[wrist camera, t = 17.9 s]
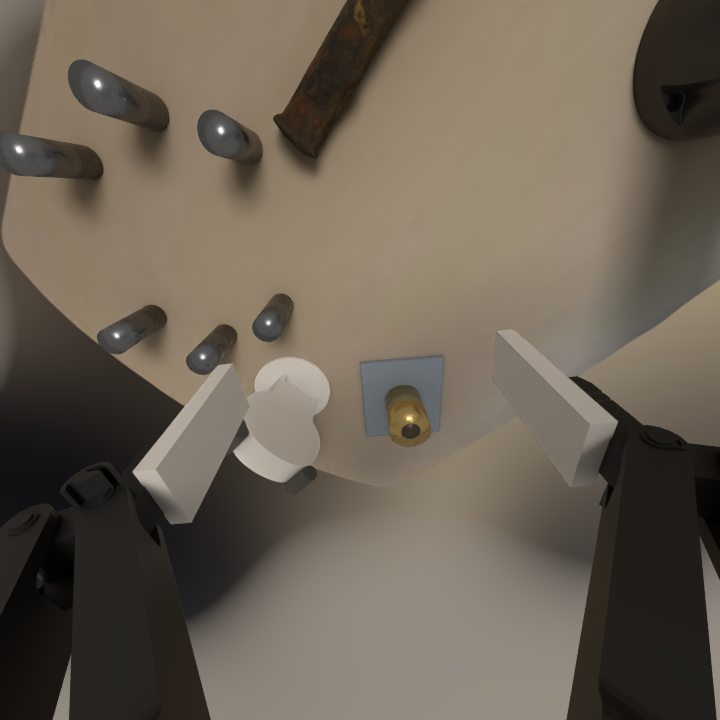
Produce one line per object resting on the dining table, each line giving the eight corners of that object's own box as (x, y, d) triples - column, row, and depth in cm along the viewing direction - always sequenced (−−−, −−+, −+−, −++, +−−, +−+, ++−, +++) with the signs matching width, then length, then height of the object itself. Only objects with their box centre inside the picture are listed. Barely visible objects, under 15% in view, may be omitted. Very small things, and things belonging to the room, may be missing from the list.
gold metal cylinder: (421, 383, 45) (432, 413, 39) (420, 412, 48) (430, 445, 41) (384, 386, 45) (389, 416, 39) (385, 415, 48) (390, 448, 41)
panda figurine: (236, 388, 46) (189, 467, 32) (281, 339, 42) (248, 406, 29) (299, 429, 50) (280, 513, 37) (345, 387, 46) (342, 465, 33)
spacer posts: (249, 81, 28) (215, 45, 21) (300, 338, 42) (289, 367, 35) (45, 102, 29) (-54, 73, 22) (159, 350, 42) (120, 381, 35)
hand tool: (314, 165, 32) (308, 160, 27) (277, 127, 30) (263, 115, 26) (489, -81, 24) (524, -150, 19) (452, -150, 23) (479, -244, 18)
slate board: (442, 355, 43) (443, 357, 43) (438, 428, 50) (439, 431, 50) (360, 361, 44) (360, 364, 43) (366, 433, 50) (367, 436, 50)
